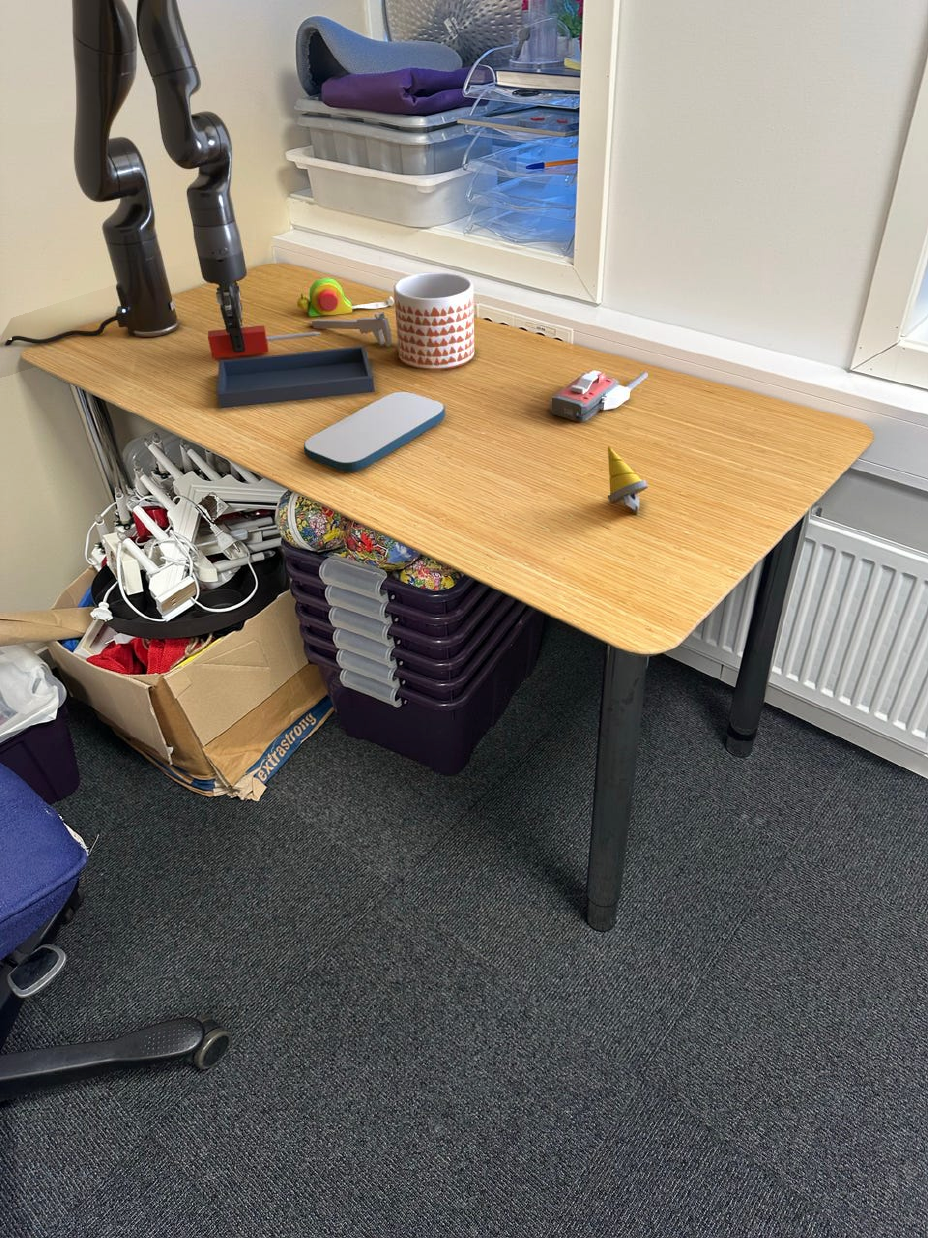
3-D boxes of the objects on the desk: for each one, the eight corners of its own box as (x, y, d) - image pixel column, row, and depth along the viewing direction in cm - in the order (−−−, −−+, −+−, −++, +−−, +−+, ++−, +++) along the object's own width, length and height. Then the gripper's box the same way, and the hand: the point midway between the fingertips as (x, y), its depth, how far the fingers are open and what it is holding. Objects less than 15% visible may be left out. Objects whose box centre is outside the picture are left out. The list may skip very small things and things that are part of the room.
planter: (458, 375, 151) (456, 302, 143) (386, 366, 155) (380, 294, 146) (484, 345, 160) (483, 275, 152) (416, 337, 164) (412, 268, 156)
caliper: (392, 346, 161) (389, 313, 157) (388, 348, 161) (385, 315, 157) (312, 324, 171) (307, 292, 167) (308, 326, 170) (303, 294, 166)
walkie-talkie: (592, 430, 134) (651, 383, 146) (594, 404, 131) (653, 358, 144) (543, 416, 138) (604, 371, 150) (544, 390, 135) (606, 346, 148)
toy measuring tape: (297, 310, 177) (292, 277, 173) (391, 299, 180) (388, 266, 176) (300, 321, 172) (295, 287, 168) (396, 310, 175) (394, 277, 171)
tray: (220, 410, 143) (216, 394, 141) (222, 376, 153) (219, 360, 151) (375, 393, 146) (373, 377, 144) (366, 361, 157) (365, 345, 155)
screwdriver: (212, 358, 157) (207, 336, 154) (213, 351, 159) (208, 330, 156) (322, 347, 159) (319, 325, 157) (321, 340, 161) (318, 319, 159)
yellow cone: (612, 524, 115) (583, 455, 116) (627, 521, 120) (599, 454, 120) (648, 507, 112) (617, 436, 113) (661, 504, 117) (632, 437, 117)
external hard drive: (351, 479, 125) (350, 467, 123) (296, 456, 130) (294, 444, 129) (453, 417, 139) (453, 405, 137) (399, 398, 144) (398, 387, 143)
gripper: (198, 238, 152) (219, 335, 163) (194, 264, 141) (217, 365, 152) (242, 235, 153) (260, 331, 164) (241, 259, 142) (260, 361, 153)
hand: (239, 347), depth 158 cm, fingers closed on screwdriver, 3 cm apart
